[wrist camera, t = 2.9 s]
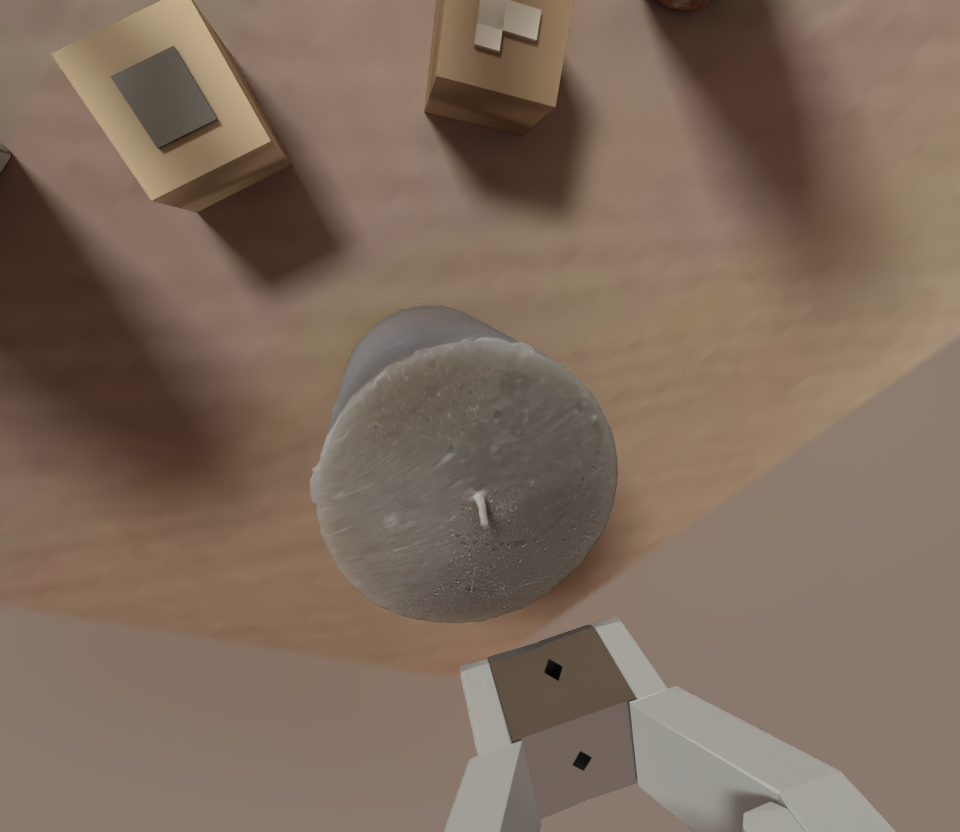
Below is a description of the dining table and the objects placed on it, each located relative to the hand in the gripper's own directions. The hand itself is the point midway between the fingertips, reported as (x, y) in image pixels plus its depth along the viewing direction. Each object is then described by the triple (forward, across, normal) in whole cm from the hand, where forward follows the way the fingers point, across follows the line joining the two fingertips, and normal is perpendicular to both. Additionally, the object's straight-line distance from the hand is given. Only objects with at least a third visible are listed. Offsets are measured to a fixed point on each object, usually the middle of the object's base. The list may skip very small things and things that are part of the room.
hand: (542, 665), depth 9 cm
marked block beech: (+20, +7, -14) cm, 26 cm away
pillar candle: (+20, 0, 0) cm, 20 cm away
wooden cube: (+20, -6, -15) cm, 26 cm away
